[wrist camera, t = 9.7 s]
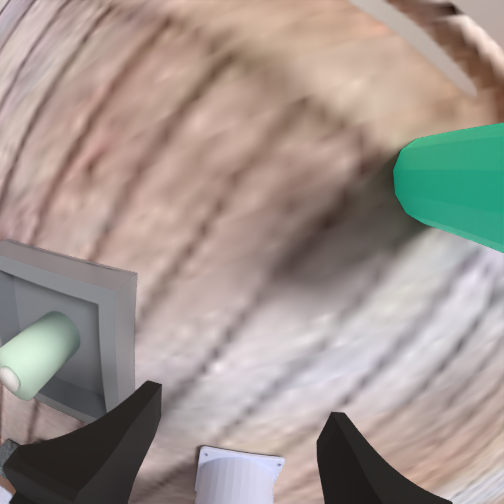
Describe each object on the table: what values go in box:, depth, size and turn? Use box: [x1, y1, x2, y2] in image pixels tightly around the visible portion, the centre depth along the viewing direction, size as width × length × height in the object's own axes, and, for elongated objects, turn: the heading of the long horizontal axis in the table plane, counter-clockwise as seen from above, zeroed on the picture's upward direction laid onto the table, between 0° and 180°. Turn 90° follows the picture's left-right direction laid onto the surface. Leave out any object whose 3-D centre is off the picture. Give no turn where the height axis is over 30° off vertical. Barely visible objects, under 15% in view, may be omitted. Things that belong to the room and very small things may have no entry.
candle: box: [393, 123, 504, 253], centre depth 12 cm, size 6×6×12 cm
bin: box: [0, 239, 137, 424], centre depth 20 cm, size 13×13×4 cm
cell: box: [0, 311, 80, 401], centre depth 17 cm, size 4×4×8 cm
